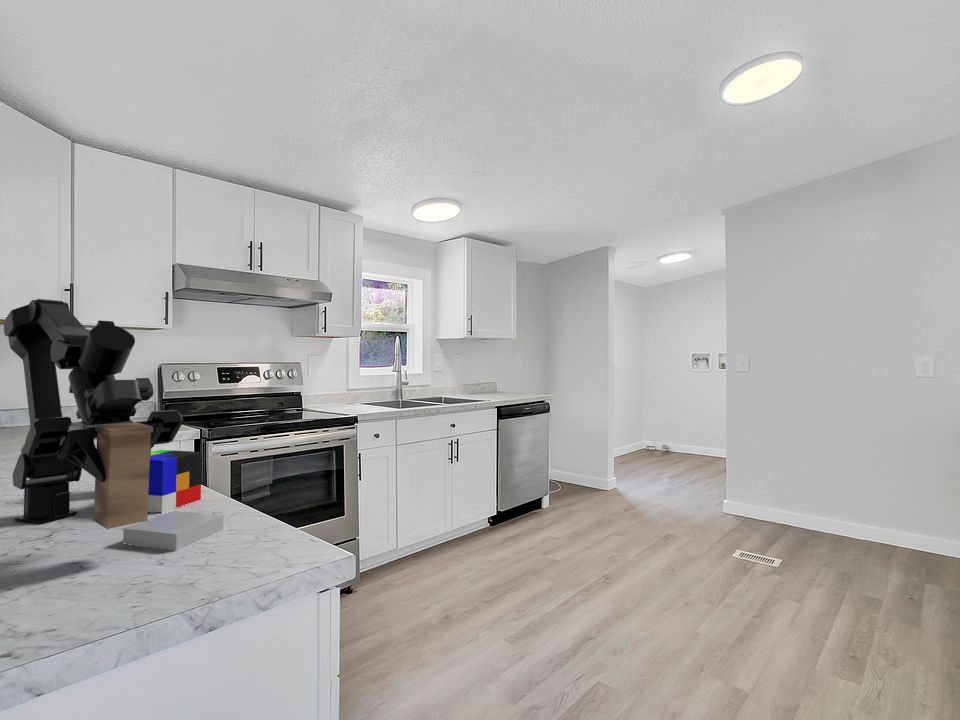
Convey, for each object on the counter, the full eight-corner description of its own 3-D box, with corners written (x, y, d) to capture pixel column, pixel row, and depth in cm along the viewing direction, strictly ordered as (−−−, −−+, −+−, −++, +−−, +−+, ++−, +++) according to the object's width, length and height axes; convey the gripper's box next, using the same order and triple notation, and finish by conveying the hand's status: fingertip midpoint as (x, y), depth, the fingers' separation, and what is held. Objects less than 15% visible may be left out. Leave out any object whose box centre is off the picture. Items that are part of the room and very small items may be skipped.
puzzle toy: (162, 513, 97) (163, 460, 97) (117, 509, 99) (118, 457, 99) (200, 500, 107) (201, 452, 107) (159, 496, 109) (160, 449, 109)
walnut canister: (91, 520, 74) (95, 425, 74) (133, 512, 78) (137, 422, 78) (106, 529, 71) (110, 430, 70) (149, 520, 75) (153, 426, 75)
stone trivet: (122, 547, 80) (123, 528, 80) (174, 527, 90) (174, 510, 90) (176, 553, 78) (176, 534, 78) (223, 532, 88) (223, 515, 88)
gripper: (33, 359, 69) (59, 450, 63) (179, 361, 84) (212, 434, 78) (15, 412, 74) (37, 503, 67) (156, 405, 89) (185, 478, 83)
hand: (125, 476), depth 74 cm, fingers closed on walnut canister, 5 cm apart
